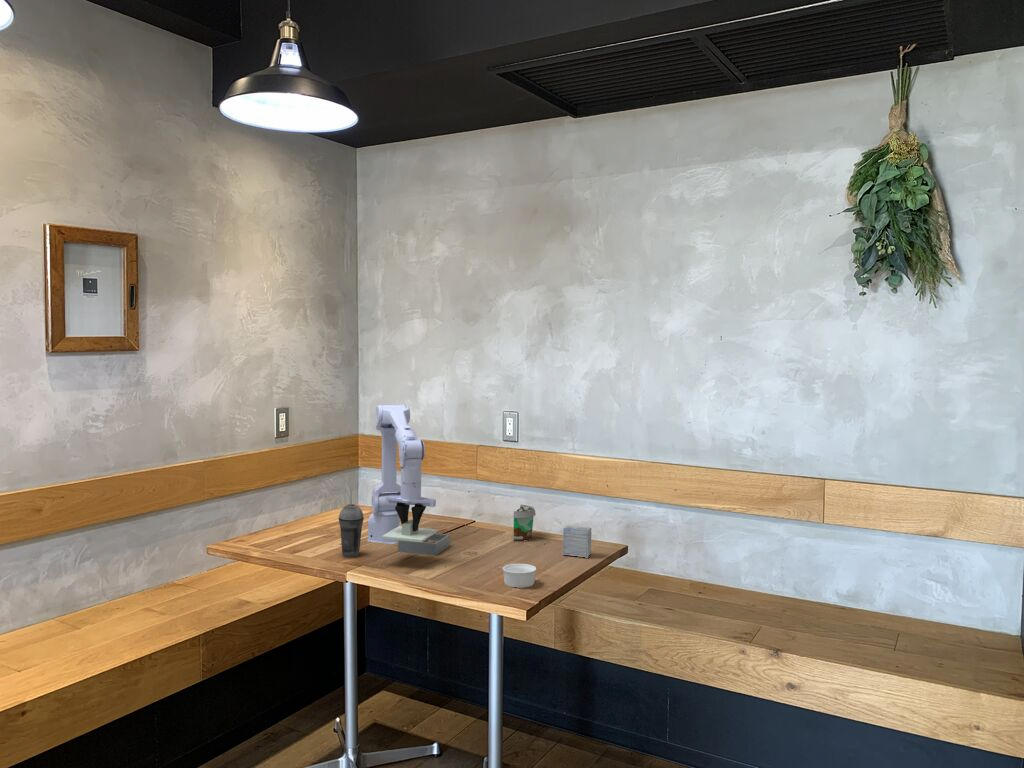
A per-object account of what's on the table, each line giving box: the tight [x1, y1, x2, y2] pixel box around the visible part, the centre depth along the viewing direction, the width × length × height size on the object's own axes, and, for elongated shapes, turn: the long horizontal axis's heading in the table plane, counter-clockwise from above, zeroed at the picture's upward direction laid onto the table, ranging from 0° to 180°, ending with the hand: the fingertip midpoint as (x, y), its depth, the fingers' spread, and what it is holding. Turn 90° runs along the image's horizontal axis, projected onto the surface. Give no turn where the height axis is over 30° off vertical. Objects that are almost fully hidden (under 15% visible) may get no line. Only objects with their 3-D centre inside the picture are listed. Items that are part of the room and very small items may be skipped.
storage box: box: [397, 533, 451, 556], centre depth 234 cm, size 12×12×4 cm
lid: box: [382, 519, 439, 542], centre depth 218 cm, size 12×12×4 cm
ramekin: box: [502, 563, 537, 589], centre depth 203 cm, size 9×9×4 cm
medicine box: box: [562, 524, 592, 557], centre depth 232 cm, size 8×4×9 cm, turn 71°
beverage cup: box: [338, 488, 365, 559], centre depth 224 cm, size 7×7×20 cm
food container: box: [512, 504, 537, 542], centre depth 252 cm, size 12×6×10 cm, turn 168°
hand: (410, 530), depth 218 cm, fingers closed on lid, 2 cm apart
